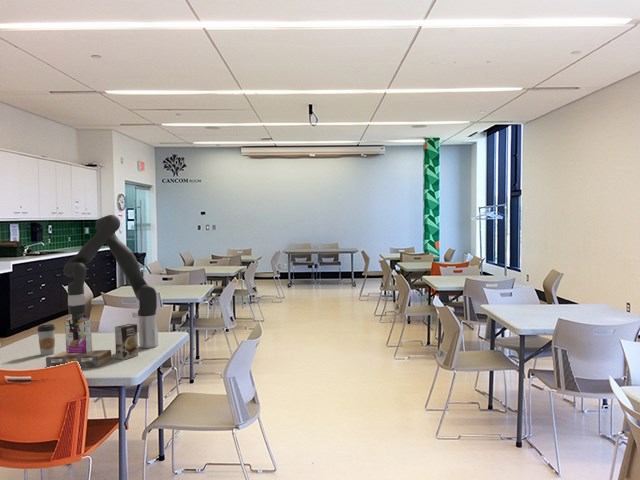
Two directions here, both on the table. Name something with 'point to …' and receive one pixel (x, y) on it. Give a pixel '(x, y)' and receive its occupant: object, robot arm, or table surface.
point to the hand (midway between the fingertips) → (78, 338)
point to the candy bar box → (79, 337)
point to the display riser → (80, 358)
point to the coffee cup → (46, 339)
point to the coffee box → (126, 341)
